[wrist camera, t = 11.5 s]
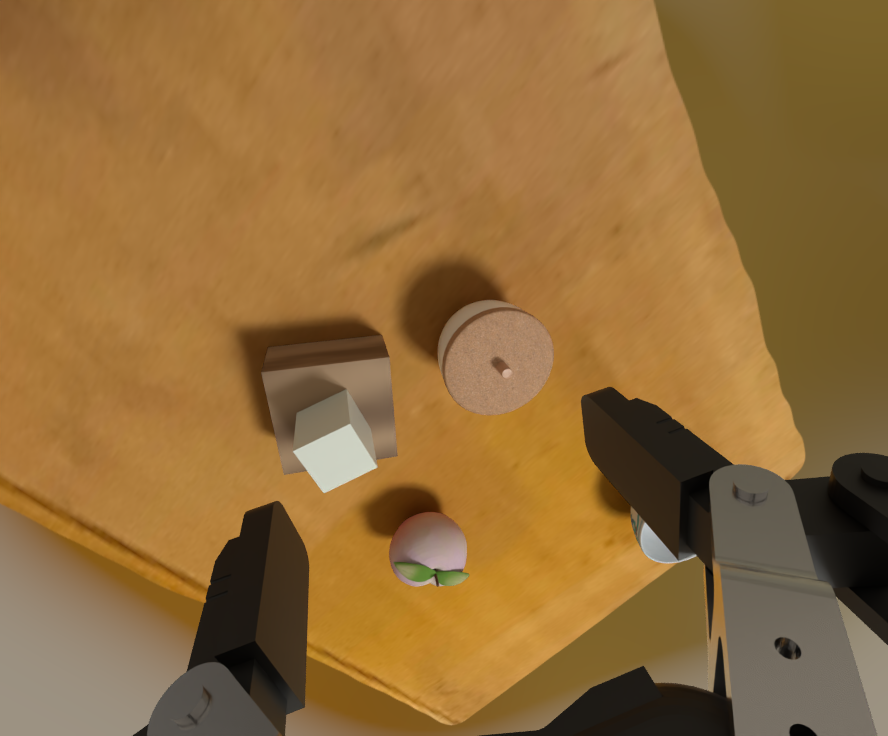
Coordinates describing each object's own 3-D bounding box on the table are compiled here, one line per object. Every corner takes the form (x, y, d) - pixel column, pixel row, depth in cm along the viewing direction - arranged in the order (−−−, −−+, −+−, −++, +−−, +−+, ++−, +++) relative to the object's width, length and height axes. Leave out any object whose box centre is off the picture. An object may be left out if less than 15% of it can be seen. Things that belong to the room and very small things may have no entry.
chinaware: (624, 538, 69) (657, 580, 62) (593, 477, 62) (626, 517, 55) (709, 486, 69) (751, 523, 62) (688, 419, 62) (733, 452, 55)
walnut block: (268, 345, 44) (261, 372, 39) (381, 333, 46) (389, 357, 41) (288, 439, 49) (284, 474, 44) (389, 424, 51) (397, 456, 46)
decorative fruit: (464, 493, 58) (489, 555, 49) (447, 542, 61) (468, 609, 52) (391, 489, 55) (405, 554, 46) (378, 541, 58) (388, 611, 49)
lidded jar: (445, 394, 51) (469, 442, 43) (412, 310, 46) (432, 345, 37) (532, 358, 51) (572, 397, 43) (509, 270, 46) (549, 297, 38)
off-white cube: (296, 412, 41) (292, 451, 36) (346, 388, 41) (350, 423, 36) (323, 451, 44) (323, 493, 38) (370, 429, 44) (377, 467, 38)
